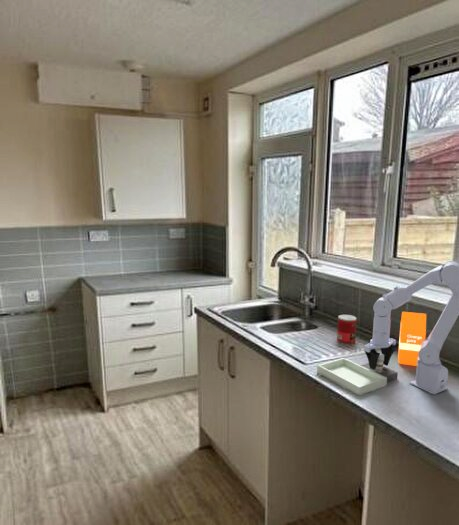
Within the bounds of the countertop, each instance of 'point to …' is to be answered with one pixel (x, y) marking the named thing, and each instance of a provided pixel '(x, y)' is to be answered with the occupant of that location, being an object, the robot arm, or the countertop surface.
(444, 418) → the countertop surface
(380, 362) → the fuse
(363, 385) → the parts tray
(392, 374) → the fuse holder
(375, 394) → the countertop surface
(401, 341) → the orange juice
